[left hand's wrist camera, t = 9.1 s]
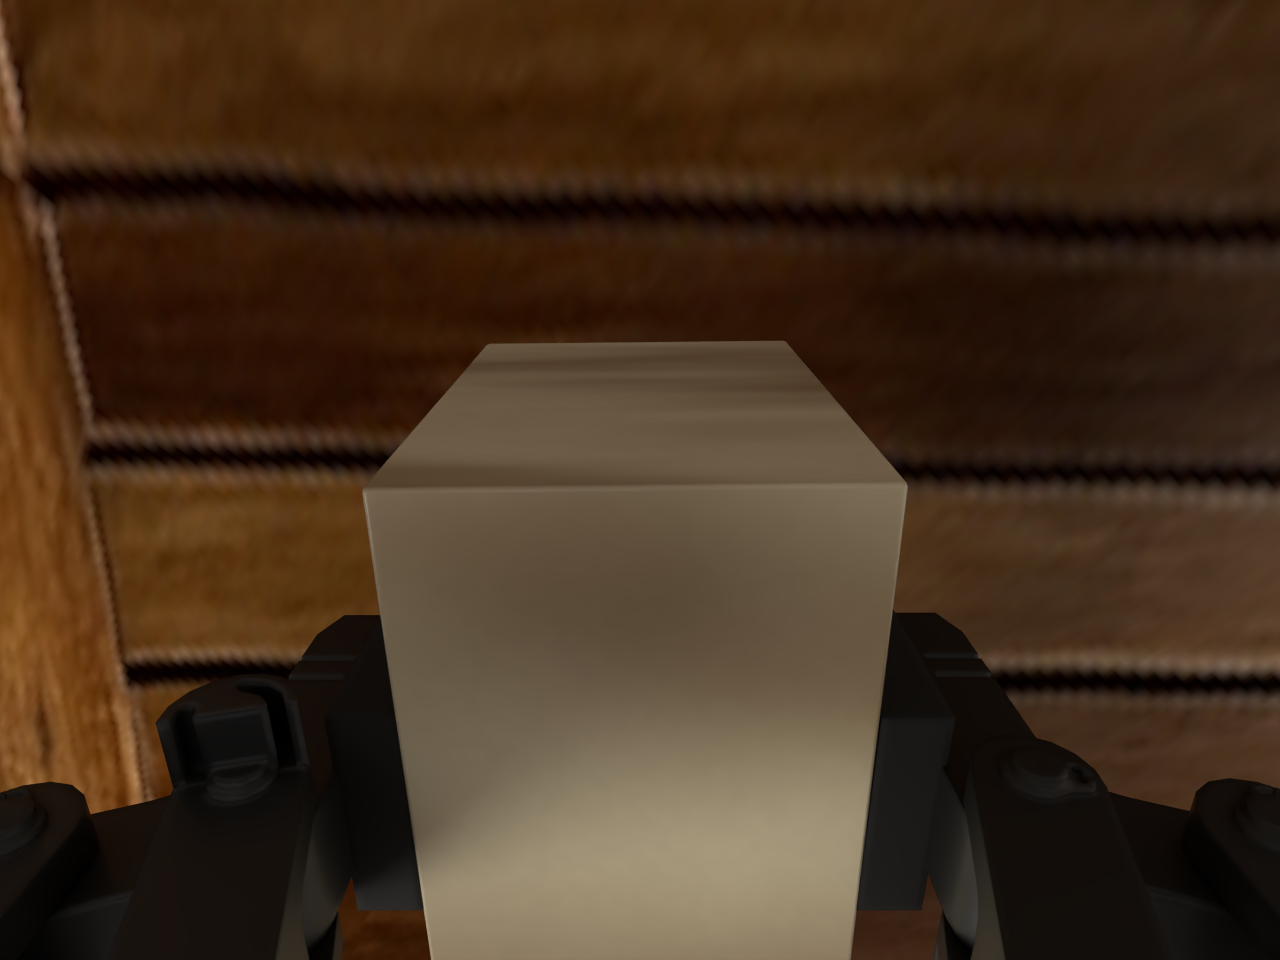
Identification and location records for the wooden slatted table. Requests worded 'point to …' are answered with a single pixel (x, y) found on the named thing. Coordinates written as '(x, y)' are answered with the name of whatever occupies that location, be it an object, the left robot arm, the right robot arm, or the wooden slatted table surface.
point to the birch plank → (637, 651)
